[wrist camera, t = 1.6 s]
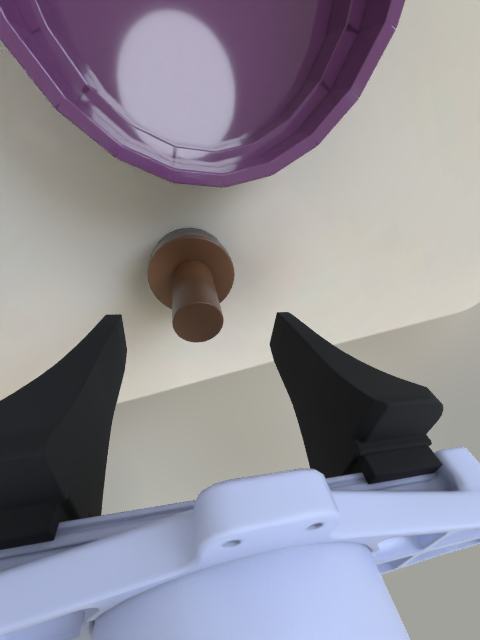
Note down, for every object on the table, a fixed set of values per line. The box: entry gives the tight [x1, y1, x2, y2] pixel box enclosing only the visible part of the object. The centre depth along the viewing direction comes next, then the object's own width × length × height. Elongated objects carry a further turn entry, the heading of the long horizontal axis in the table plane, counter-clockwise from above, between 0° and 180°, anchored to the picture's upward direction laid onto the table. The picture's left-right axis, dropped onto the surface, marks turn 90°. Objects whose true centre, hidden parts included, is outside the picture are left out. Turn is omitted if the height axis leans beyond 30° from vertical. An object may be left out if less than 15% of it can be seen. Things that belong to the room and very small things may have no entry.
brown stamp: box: [148, 228, 234, 342], centre depth 17 cm, size 6×6×7 cm
